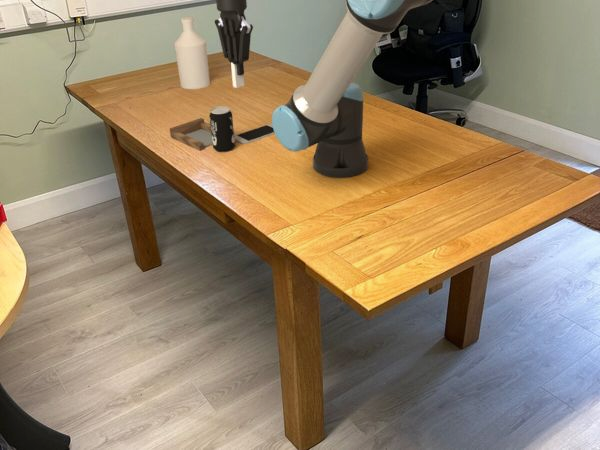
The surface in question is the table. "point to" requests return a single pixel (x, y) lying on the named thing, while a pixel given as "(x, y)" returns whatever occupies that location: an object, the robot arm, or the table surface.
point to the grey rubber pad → (202, 137)
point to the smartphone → (254, 134)
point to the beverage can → (222, 129)
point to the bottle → (191, 57)
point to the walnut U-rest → (190, 127)
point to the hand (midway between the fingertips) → (238, 86)
